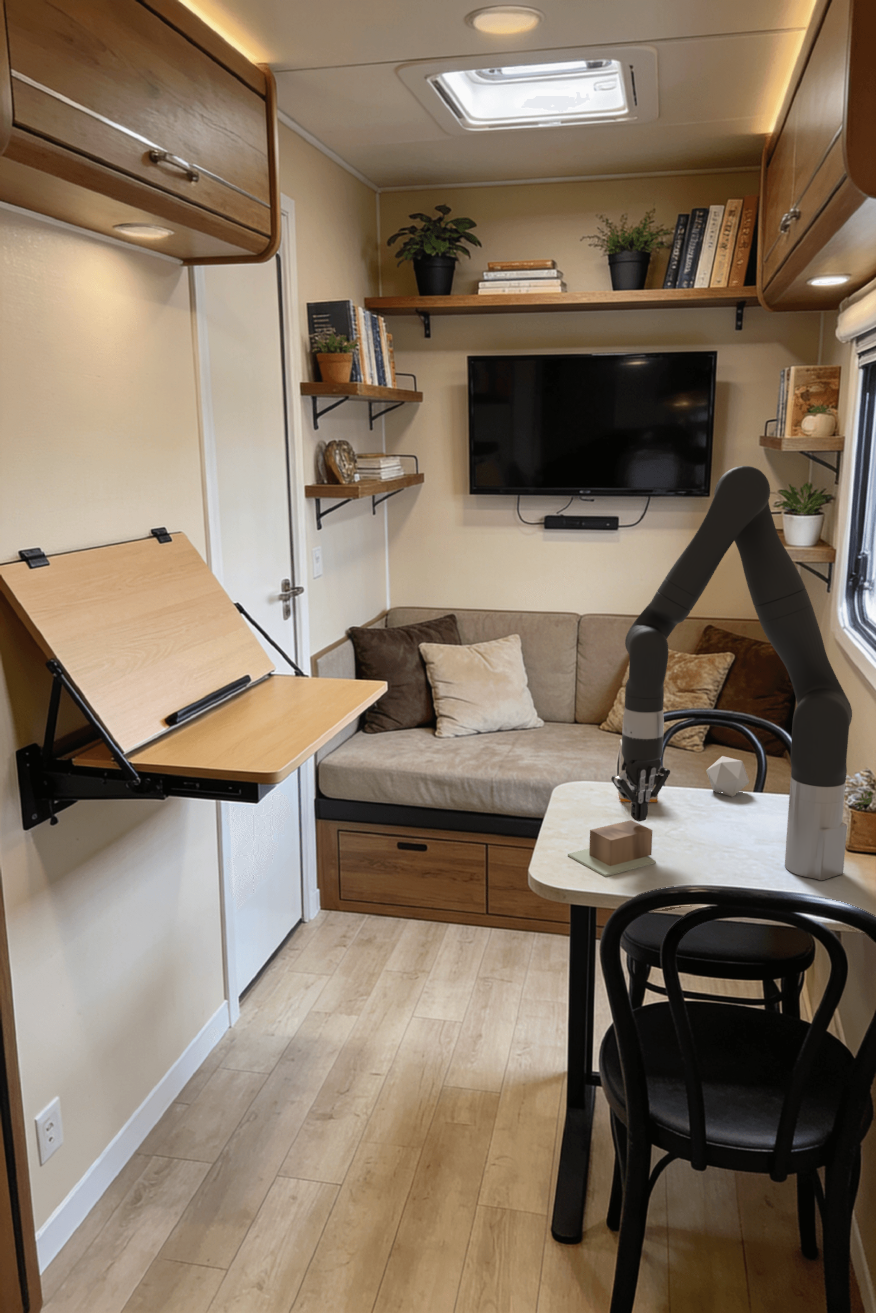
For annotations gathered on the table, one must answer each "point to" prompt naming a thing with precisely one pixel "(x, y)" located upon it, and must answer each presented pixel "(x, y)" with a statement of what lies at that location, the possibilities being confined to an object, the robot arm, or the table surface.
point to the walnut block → (620, 842)
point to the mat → (606, 869)
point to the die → (727, 776)
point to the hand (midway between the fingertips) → (639, 819)
